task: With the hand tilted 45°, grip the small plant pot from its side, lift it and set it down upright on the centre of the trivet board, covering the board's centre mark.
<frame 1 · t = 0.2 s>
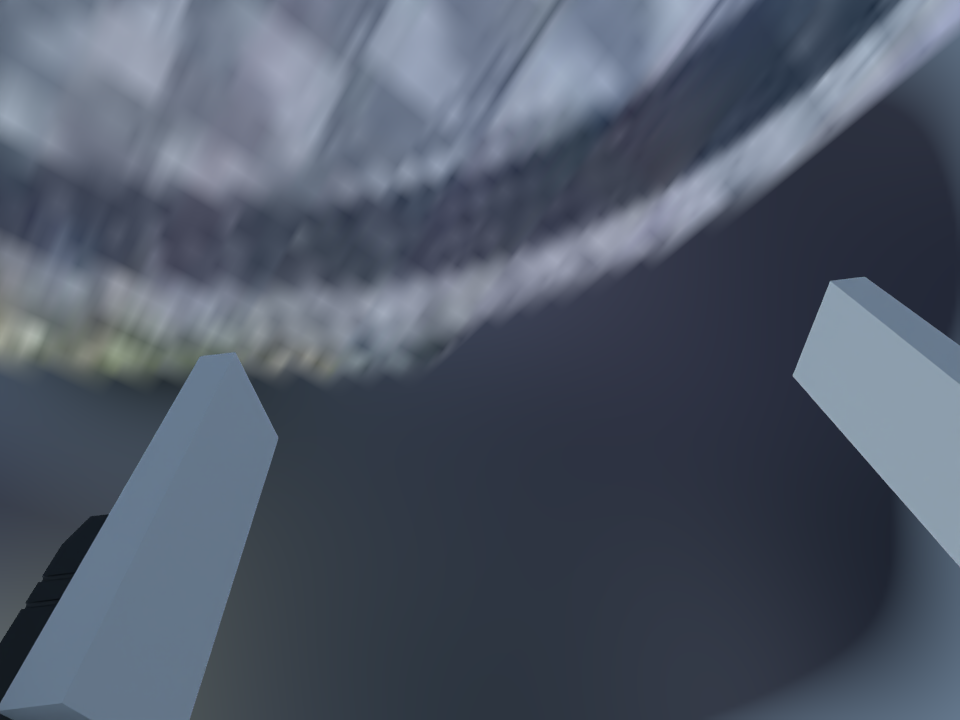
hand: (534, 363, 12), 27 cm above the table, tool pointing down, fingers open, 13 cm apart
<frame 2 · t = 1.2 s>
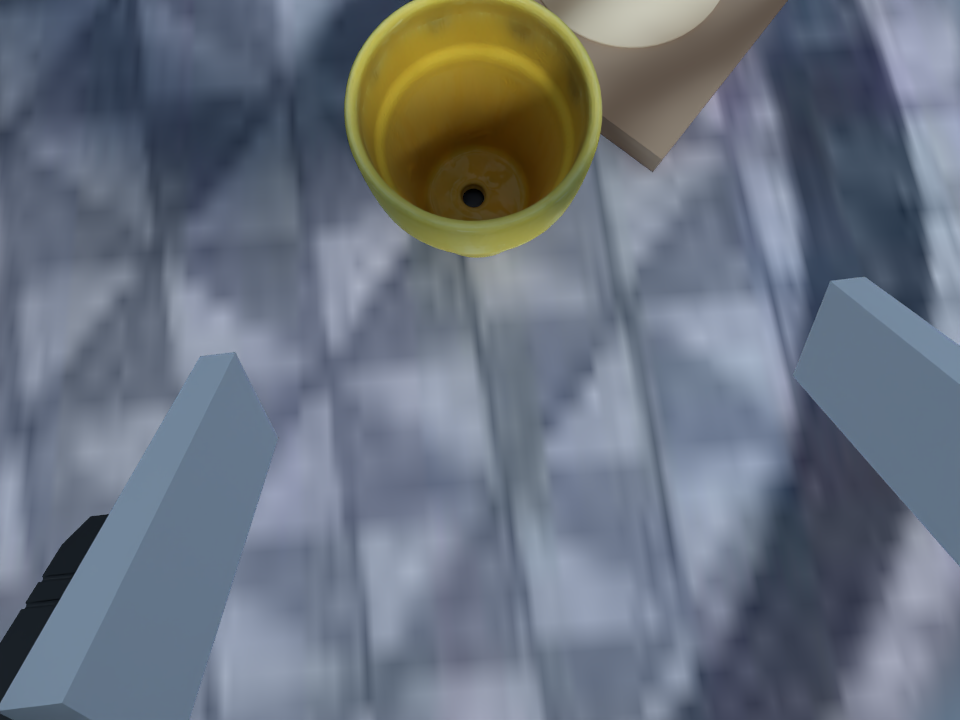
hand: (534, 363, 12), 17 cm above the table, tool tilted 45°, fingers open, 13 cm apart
plant pot: (475, 205, 30), on the table
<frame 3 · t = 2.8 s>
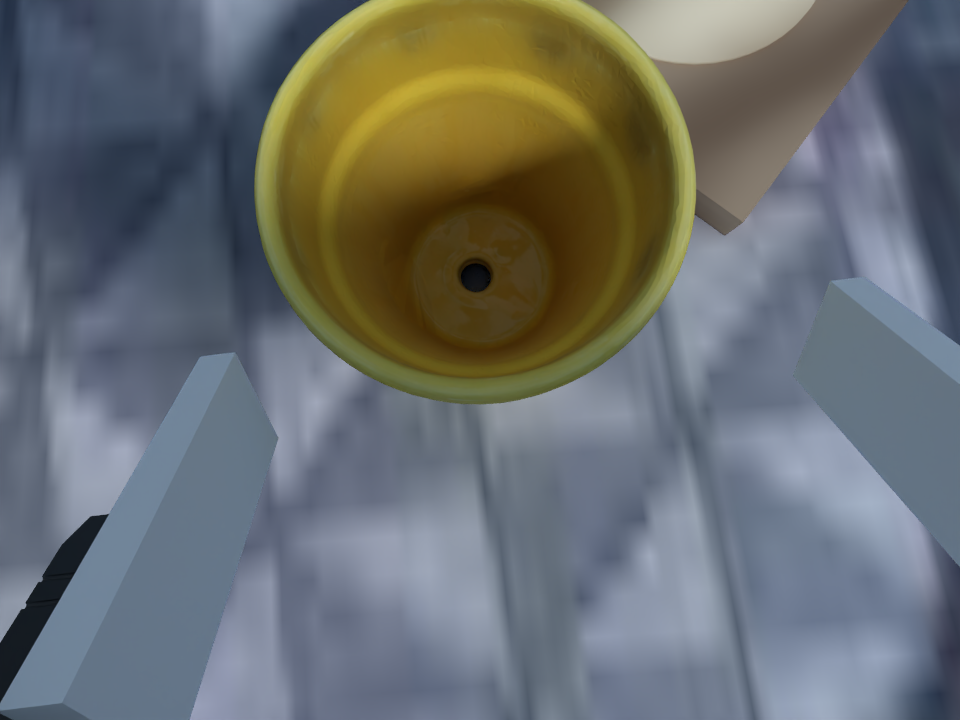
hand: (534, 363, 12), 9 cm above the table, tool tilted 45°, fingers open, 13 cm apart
plant pot: (478, 284, 21), on the table
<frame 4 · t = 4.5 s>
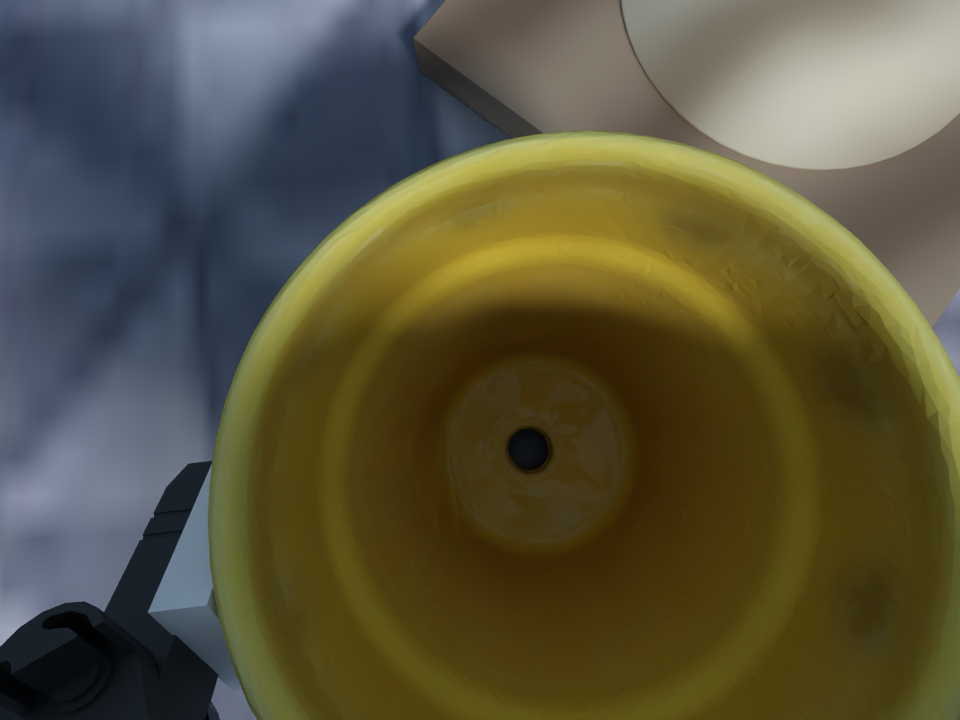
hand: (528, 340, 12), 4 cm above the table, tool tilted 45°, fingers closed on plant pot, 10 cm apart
trivet board: (780, 28, 18), on the table
plant pot: (528, 450, 16), on the table, touching gripper
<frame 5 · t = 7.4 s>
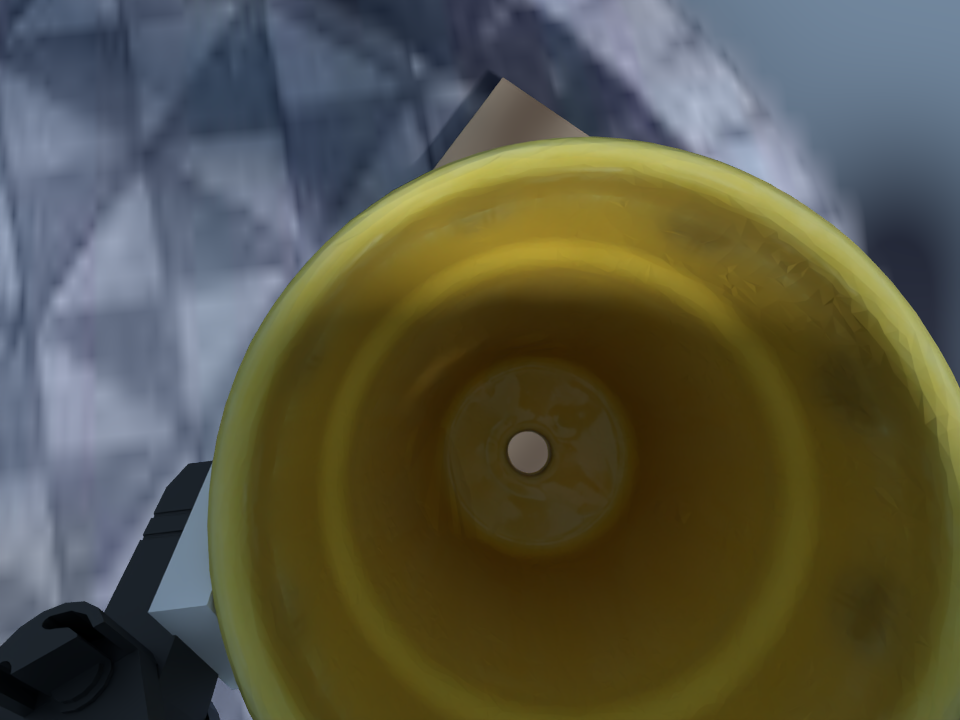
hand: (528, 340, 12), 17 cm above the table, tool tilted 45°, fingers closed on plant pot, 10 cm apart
trivet board: (536, 295, 30), on the table
plant pot: (528, 452, 16), point 13 cm above the table, touching gripper
when the fingers open (7 cm above the table, at t = 10.3 s): plant pot drops 1 cm, resting on trivet board.
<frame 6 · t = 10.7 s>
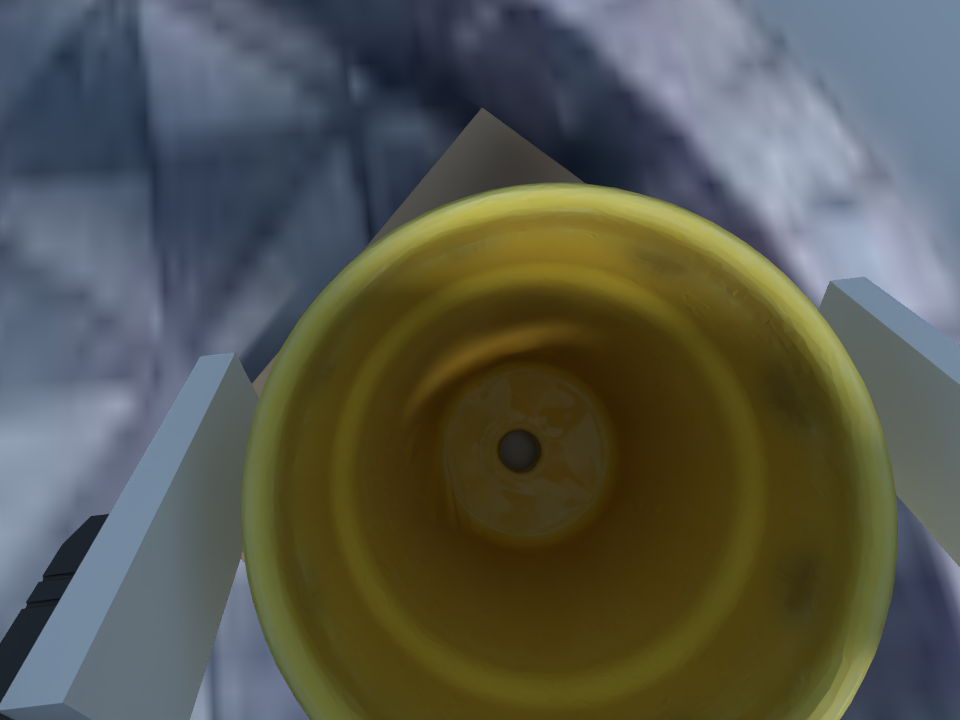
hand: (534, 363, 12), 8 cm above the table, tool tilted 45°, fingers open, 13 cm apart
trivet board: (522, 444, 19), on the table
plant pot: (519, 451, 18), point 1 cm above the table, touching trivet board
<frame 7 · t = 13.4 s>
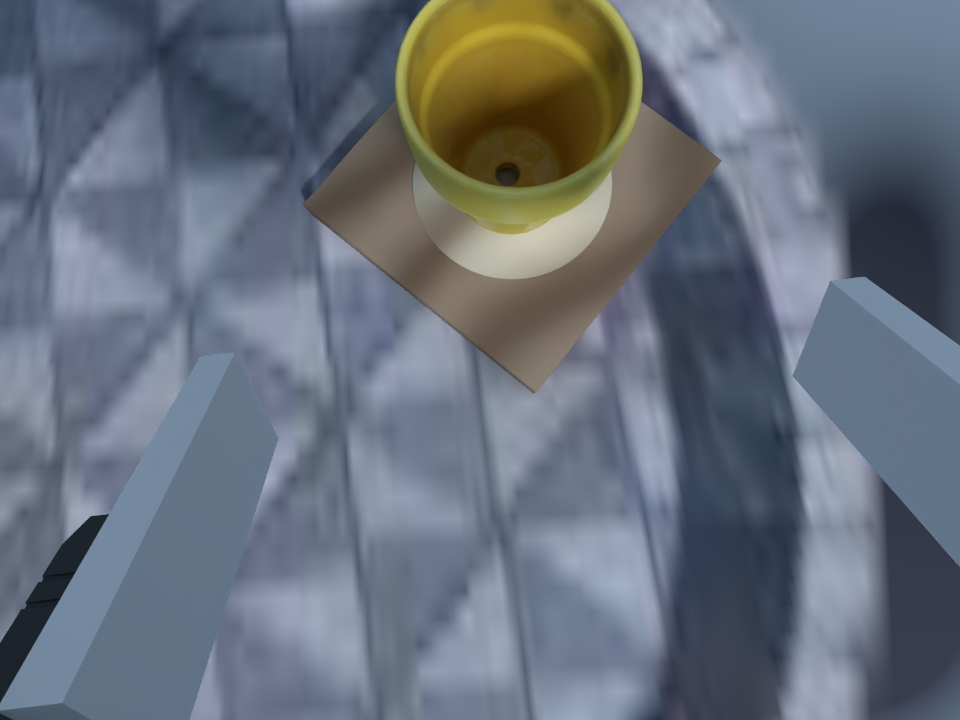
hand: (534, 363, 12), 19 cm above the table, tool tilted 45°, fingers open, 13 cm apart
trivet board: (510, 193, 32), on the table
plant pot: (508, 184, 30), point 1 cm above the table, touching trivet board
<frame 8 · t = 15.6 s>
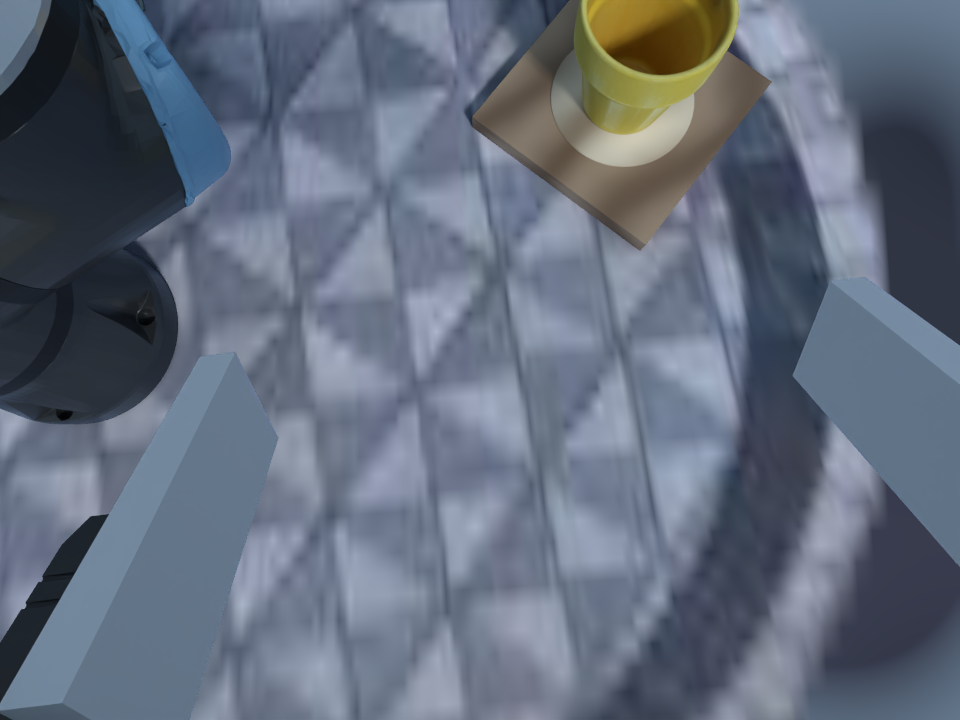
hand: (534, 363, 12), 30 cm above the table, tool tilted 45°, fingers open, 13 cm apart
trivet board: (617, 110, 44), on the table
plant pot: (619, 101, 42), point 1 cm above the table, touching trivet board
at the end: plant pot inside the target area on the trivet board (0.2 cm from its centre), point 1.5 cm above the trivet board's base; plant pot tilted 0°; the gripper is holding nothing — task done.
